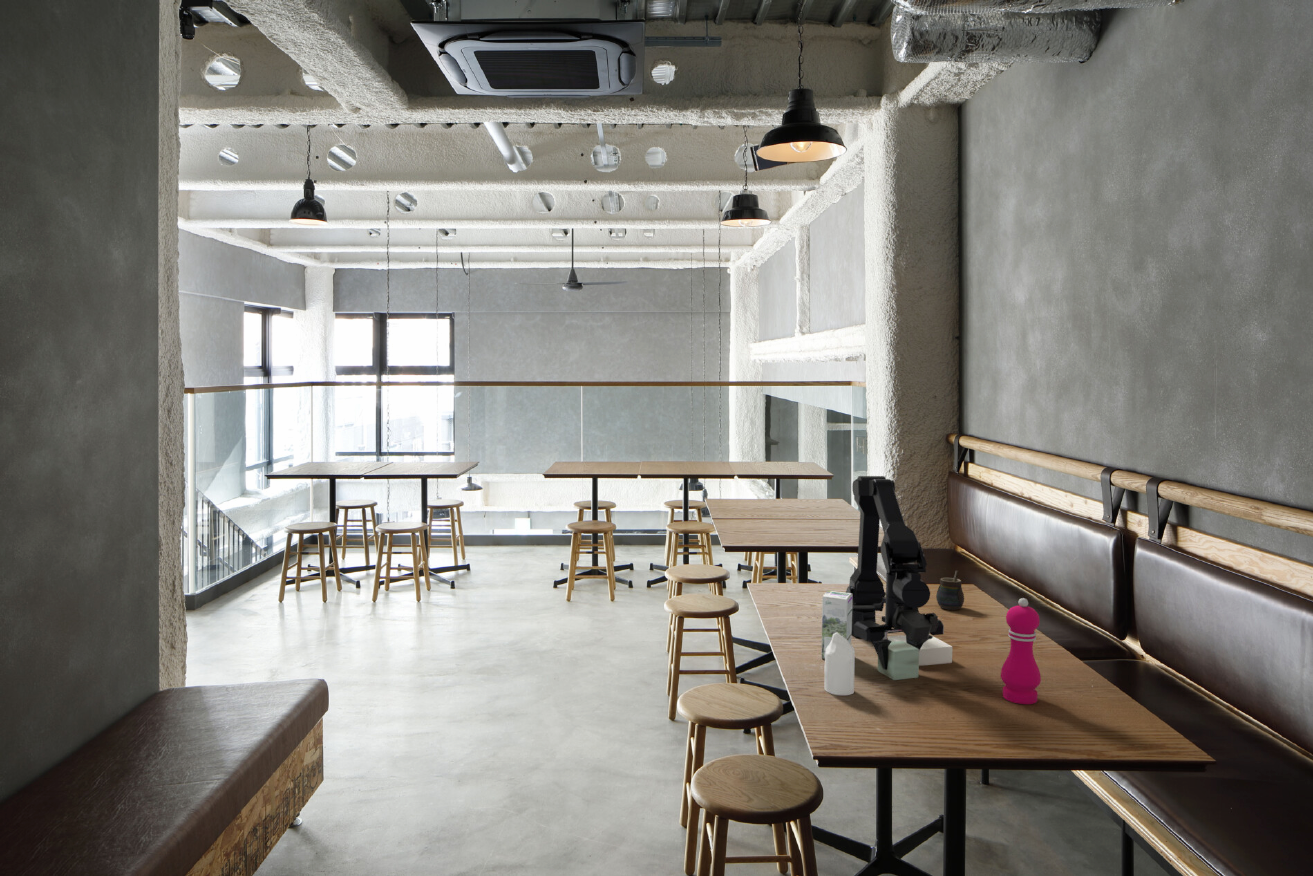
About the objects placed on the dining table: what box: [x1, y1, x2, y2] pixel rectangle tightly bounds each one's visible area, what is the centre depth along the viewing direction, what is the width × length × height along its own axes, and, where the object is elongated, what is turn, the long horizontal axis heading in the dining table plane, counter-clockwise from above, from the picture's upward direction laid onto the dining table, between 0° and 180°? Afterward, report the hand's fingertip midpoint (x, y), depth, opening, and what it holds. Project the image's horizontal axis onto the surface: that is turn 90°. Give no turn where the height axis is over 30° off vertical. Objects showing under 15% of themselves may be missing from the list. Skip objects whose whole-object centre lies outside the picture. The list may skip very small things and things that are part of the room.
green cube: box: [877, 641, 920, 681], centre depth 177 cm, size 6×6×6 cm
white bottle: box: [823, 633, 856, 696], centre depth 167 cm, size 6×12×6 cm
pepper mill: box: [1000, 597, 1042, 705], centre depth 163 cm, size 7×7×20 cm
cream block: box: [887, 634, 953, 667], centre depth 188 cm, size 10×10×4 cm
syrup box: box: [820, 590, 852, 660], centre depth 187 cm, size 6×6×14 cm
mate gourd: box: [935, 570, 965, 611], centre depth 229 cm, size 7×8×10 cm
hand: (897, 667), depth 177 cm, fingers closed on green cube, 6 cm apart
